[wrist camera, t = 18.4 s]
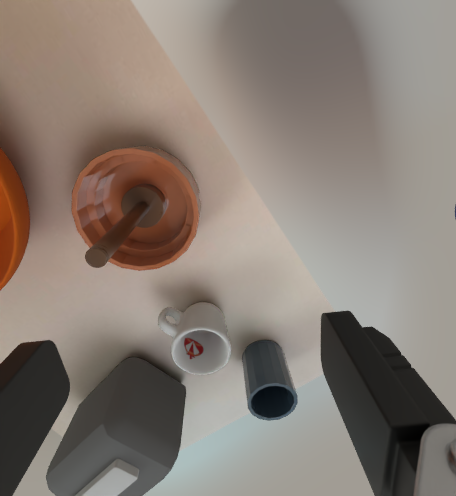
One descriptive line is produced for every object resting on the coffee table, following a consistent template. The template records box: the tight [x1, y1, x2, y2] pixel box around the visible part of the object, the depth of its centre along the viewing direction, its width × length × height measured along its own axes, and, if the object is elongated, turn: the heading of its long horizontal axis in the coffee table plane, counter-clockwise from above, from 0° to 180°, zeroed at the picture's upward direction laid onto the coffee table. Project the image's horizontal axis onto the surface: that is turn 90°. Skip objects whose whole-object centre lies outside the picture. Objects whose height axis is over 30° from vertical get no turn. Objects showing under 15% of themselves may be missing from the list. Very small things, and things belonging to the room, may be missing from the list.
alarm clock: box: [46, 357, 186, 496], centre depth 44 cm, size 16×11×16 cm
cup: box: [158, 302, 231, 375], centre depth 42 cm, size 11×8×8 cm
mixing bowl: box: [72, 146, 201, 271], centre depth 37 cm, size 14×14×6 cm
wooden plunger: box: [85, 184, 166, 268], centre depth 31 cm, size 5×5×18 cm
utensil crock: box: [242, 340, 297, 420], centre depth 46 cm, size 7×7×9 cm
